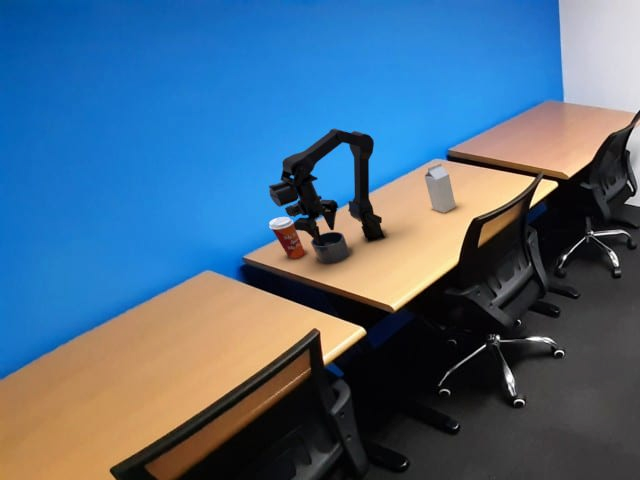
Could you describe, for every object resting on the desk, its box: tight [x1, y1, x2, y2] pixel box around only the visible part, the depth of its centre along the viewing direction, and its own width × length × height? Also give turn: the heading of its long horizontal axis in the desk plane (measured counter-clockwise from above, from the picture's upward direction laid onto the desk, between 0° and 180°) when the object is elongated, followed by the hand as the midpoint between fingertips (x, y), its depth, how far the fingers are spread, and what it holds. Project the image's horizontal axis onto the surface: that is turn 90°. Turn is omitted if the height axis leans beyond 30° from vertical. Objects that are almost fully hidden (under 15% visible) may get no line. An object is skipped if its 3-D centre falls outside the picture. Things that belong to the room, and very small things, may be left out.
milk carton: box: [424, 162, 457, 214], centre depth 199 cm, size 7×7×19 cm
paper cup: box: [268, 216, 306, 259], centre depth 172 cm, size 8×8×14 cm
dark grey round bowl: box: [310, 231, 351, 264], centre depth 173 cm, size 11×11×7 cm
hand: (325, 236), depth 170 cm, fingers open, 9 cm apart
